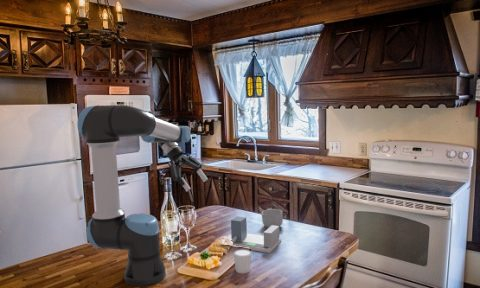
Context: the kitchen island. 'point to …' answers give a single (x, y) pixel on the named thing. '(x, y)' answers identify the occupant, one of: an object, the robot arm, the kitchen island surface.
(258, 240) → the board
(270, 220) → the teacup
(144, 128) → the robot arm
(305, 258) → the kitchen island surface
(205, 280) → the kitchen island surface
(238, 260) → the white cylinder
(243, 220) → the block
